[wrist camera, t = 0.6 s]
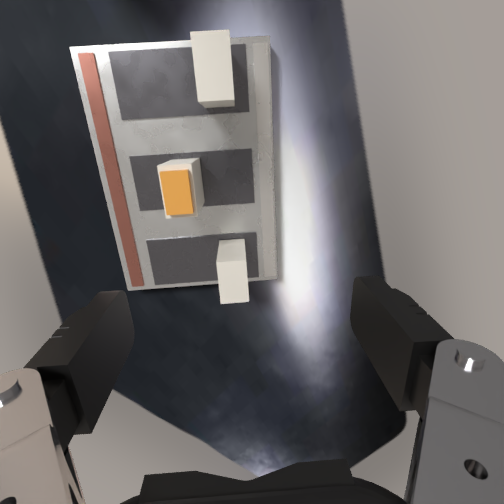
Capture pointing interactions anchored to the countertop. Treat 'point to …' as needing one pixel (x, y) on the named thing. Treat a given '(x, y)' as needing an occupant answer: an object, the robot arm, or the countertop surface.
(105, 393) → the robot arm
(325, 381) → the countertop surface
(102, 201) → the countertop surface
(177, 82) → the panel
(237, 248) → the breaker far
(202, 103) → the block
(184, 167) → the block
